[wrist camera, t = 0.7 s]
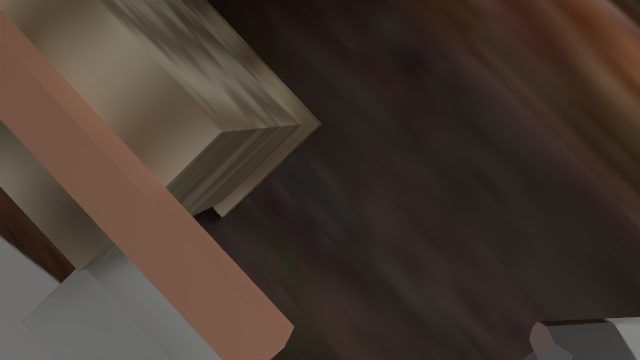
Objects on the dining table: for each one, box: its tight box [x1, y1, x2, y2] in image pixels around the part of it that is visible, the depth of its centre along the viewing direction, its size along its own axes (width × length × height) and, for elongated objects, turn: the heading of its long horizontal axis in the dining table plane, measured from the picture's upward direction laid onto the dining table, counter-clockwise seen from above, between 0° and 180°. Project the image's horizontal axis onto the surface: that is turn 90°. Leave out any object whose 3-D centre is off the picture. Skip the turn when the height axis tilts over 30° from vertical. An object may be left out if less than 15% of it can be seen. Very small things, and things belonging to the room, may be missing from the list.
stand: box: [0, 0, 322, 272], centre depth 41 cm, size 18×12×26 cm, turn 43°
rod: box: [0, 9, 294, 360], centre depth 27 cm, size 25×2×2 cm, turn 43°
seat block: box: [23, 251, 222, 360], centre depth 48 cm, size 12×6×17 cm, turn 43°
